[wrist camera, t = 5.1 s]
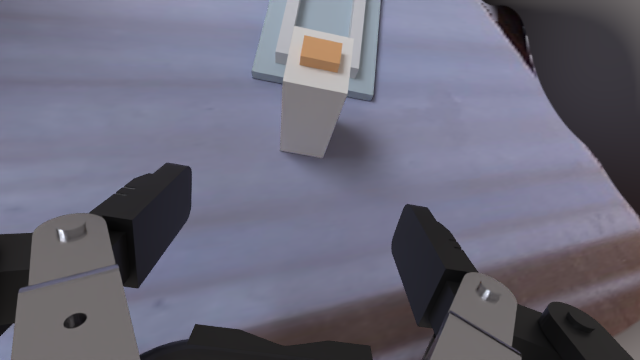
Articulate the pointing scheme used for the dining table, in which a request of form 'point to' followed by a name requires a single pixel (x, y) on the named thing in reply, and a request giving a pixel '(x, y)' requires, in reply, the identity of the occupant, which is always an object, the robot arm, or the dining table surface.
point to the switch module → (313, 90)
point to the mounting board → (326, 16)
